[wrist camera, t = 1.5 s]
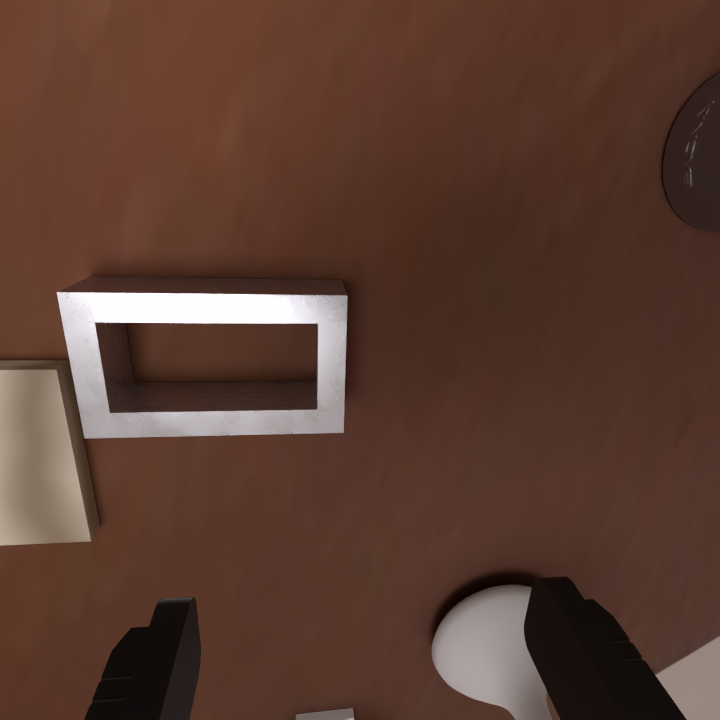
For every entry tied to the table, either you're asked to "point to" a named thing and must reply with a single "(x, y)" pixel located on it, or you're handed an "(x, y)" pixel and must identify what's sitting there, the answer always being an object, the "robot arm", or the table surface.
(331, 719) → the headphone stand
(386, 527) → the table surface
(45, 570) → the table surface
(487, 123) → the table surface
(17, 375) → the beige plate with rod
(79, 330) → the steel link
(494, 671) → the flower in vase
